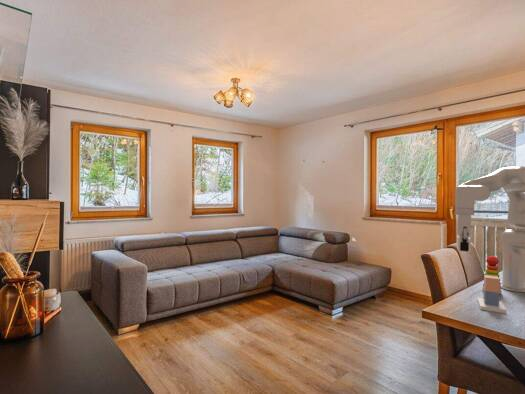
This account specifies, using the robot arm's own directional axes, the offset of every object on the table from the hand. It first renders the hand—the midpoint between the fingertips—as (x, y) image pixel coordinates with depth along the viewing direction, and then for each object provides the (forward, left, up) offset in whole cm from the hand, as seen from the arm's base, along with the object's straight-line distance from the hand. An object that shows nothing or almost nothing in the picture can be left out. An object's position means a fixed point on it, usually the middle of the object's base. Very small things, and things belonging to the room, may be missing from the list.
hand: (463, 249), depth 146 cm
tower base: (+4, +10, -24) cm, 27 cm away
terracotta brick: (+4, +10, -17) cm, 20 cm away
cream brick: (0, 0, -1) cm, 1 cm away
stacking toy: (-21, +14, -24) cm, 35 cm away
